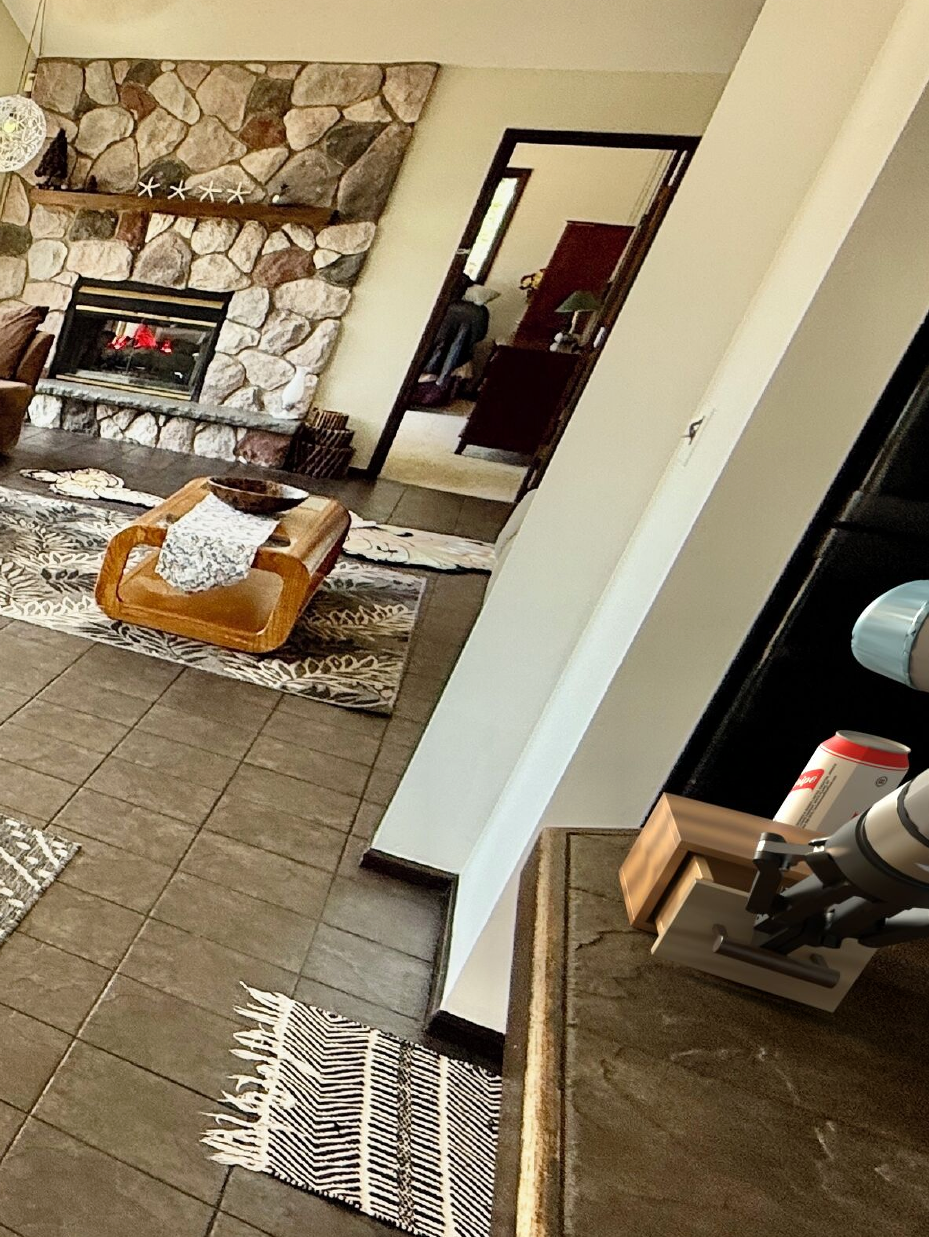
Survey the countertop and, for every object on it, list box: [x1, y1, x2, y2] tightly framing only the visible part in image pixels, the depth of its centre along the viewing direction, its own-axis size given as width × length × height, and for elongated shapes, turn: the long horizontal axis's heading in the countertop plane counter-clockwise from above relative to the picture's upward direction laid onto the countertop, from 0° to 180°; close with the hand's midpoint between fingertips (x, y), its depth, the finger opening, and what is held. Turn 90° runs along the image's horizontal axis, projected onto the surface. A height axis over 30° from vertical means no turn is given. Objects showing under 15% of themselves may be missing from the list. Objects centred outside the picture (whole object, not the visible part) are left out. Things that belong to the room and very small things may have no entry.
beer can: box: [772, 730, 912, 836], centre depth 122 cm, size 6×6×16 cm
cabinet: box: [618, 792, 831, 936], centre depth 112 cm, size 15×13×10 cm
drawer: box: [650, 850, 879, 1013], centre depth 104 cm, size 18×11×8 cm, turn 139°
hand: (765, 943), depth 100 cm, fingers closed
